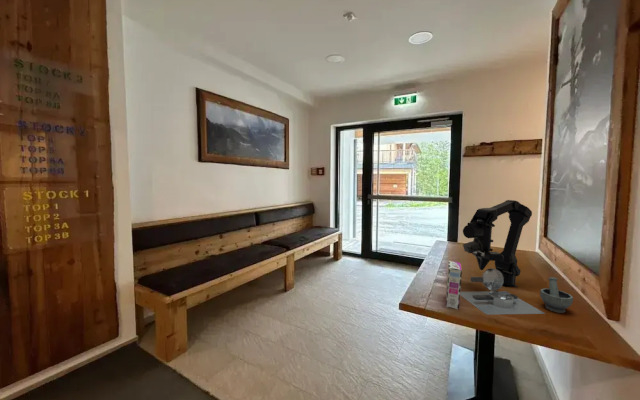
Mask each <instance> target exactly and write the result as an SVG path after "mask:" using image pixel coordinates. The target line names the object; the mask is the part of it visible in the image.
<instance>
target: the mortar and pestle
mask: <svg viewBox="0 0 640 400" xmlns="http://www.w3.org/2000/svg"><path fill="white" fill-rule="evenodd" d="M547 279H548V282H549V285H548V286H549V288H541V289H540V291H539V294H540V295H539V296H540V298H541V300H542V302H543V303H544V304H545V305H544V307H545V309H547V310H549V311H551V312H554V313H559V314H563V313H566V309H568V308H570V307H571V306H572V305H573V302H574V297H573V296H572V294H570V293H568V292H565V291H563V290H559V286H558V278H557V277H555V276H551V277H548V278H547Z"/></svg>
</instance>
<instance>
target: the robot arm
mask: <svg viewBox="0 0 640 400" xmlns="http://www.w3.org/2000/svg"><path fill="white" fill-rule="evenodd" d="M506 213H508V219H509V222H510V225H509V228H508V232H507V236H506V239H505V243H504V247H503V250H502V251H501V252H497V251H494V250H493V248H491V245H492V243H494V239H492V234H493V233H492V230H493V228H494V227H496V225H495V224H494V222H496V221H497V220H498V217H499V216H502V215H504V214H506ZM532 215H533V211H532V210H531V209H530V208H529V207H528V206H527V205H524V204H522V203H521V202H519V201H518V200H512V199H507V200H504V201H503V202H501V203H499V204H495V205H494V206H491V207H480V208H478V209H476V211H475V213H474V214H473V216H472V217H471V220H470V221H469V222H467V224H466V225H465V226H464V227H463V229H462V234H463V236H464V237H465V238H466V239H473V241H469V242H466V243H463V244H462V246H463V250H464V252H466V253H468V254H472V255H473V256H474V257H475V258H476V261H477V264H478V268H479V270H480V271H484V269H485V268H486V266H488V263H489V262H490V261H491V262H493V261H494V267H495V269H497V270H499V271H500V272H501V273H502V275H503V278H504V282H503V285H502V287H503V288H518V285H516V278H517V277H519V276H520V275H521V269H520V267H519V266H518V259H517V256H516V253H517V249H518V246H519V242H520V238H521V235H522V231H523V227H524V226H526V225H527V224H528V223H529V221H530V219H531V217H532Z"/></svg>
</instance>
